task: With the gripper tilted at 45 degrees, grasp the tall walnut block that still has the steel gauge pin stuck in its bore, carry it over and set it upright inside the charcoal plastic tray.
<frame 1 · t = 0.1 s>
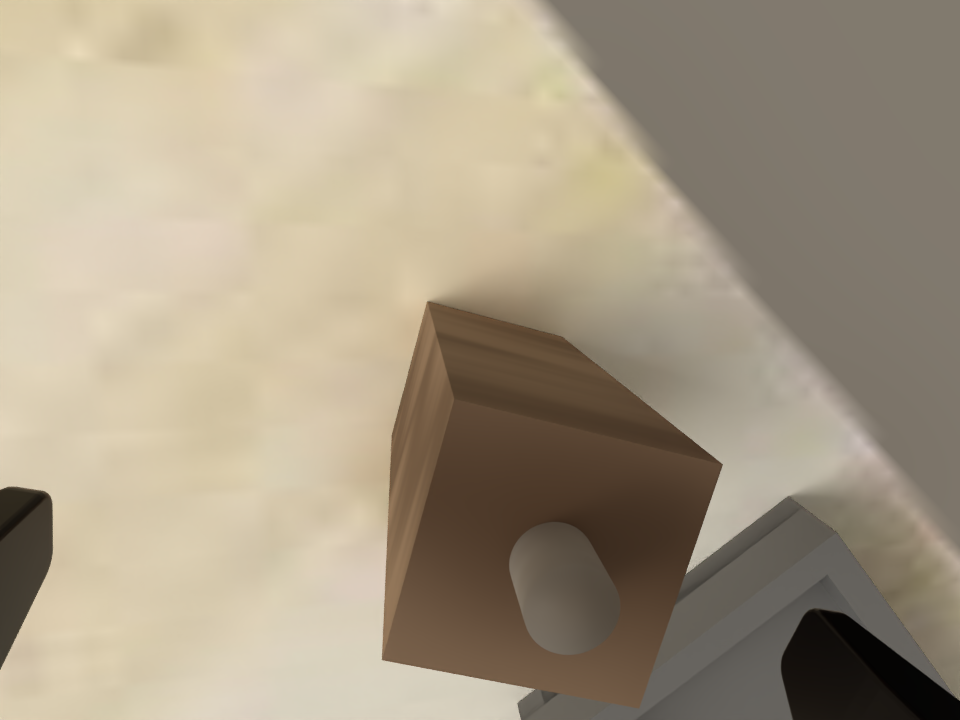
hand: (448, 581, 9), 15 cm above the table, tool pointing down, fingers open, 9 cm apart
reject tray: (743, 713, 28), on the table
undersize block: (476, 386, 24), on the table
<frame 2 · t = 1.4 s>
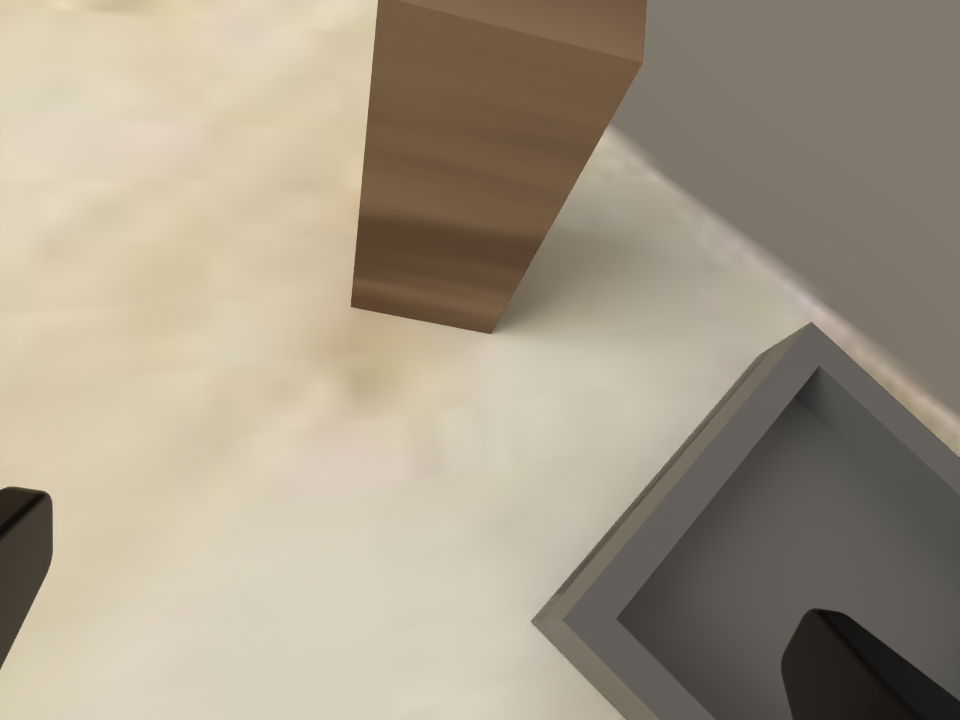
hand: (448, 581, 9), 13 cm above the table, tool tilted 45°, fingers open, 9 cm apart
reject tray: (799, 615, 23), on the table
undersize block: (431, 258, 25), on the table
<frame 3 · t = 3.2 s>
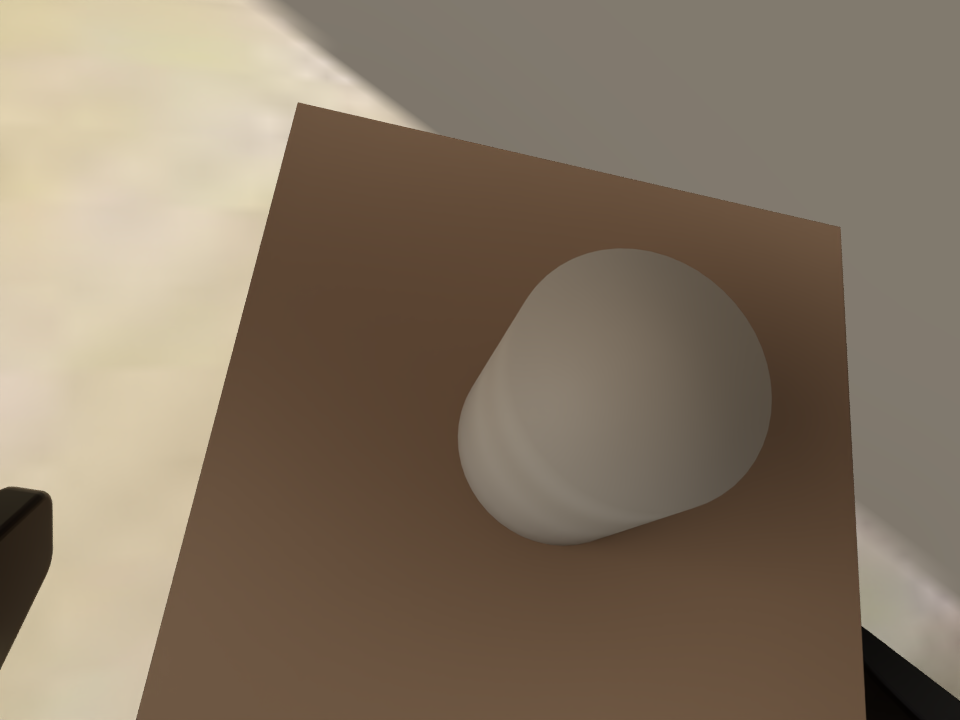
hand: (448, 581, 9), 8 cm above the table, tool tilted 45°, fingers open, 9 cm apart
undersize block: (395, 571, 17), on the table
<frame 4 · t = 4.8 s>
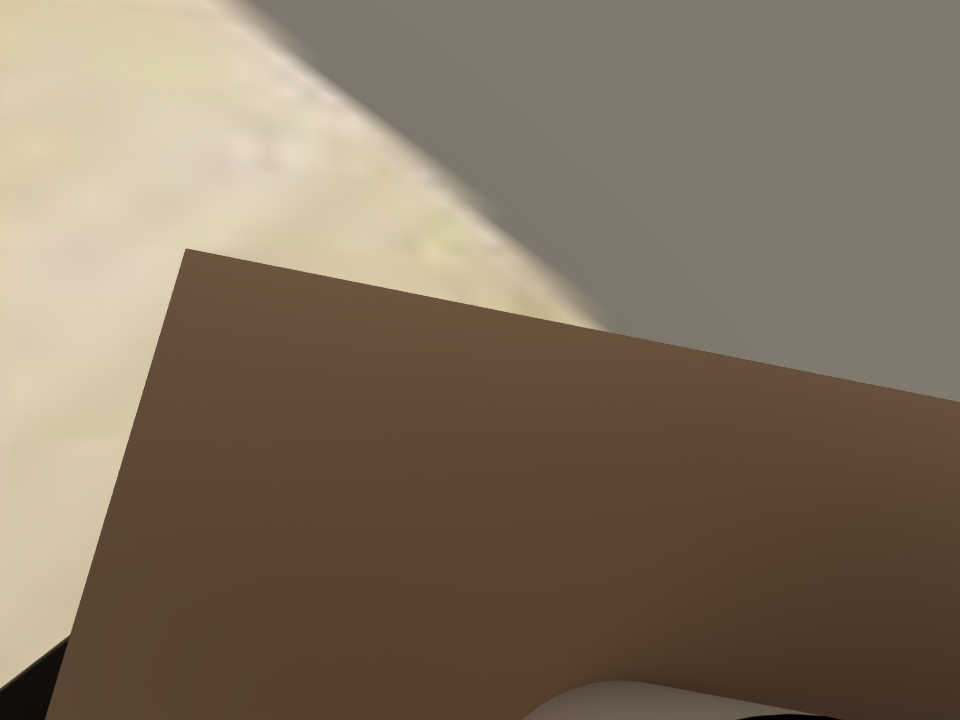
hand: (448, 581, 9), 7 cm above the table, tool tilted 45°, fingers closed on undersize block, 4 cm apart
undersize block: (385, 673, 15), on the table, touching gripper
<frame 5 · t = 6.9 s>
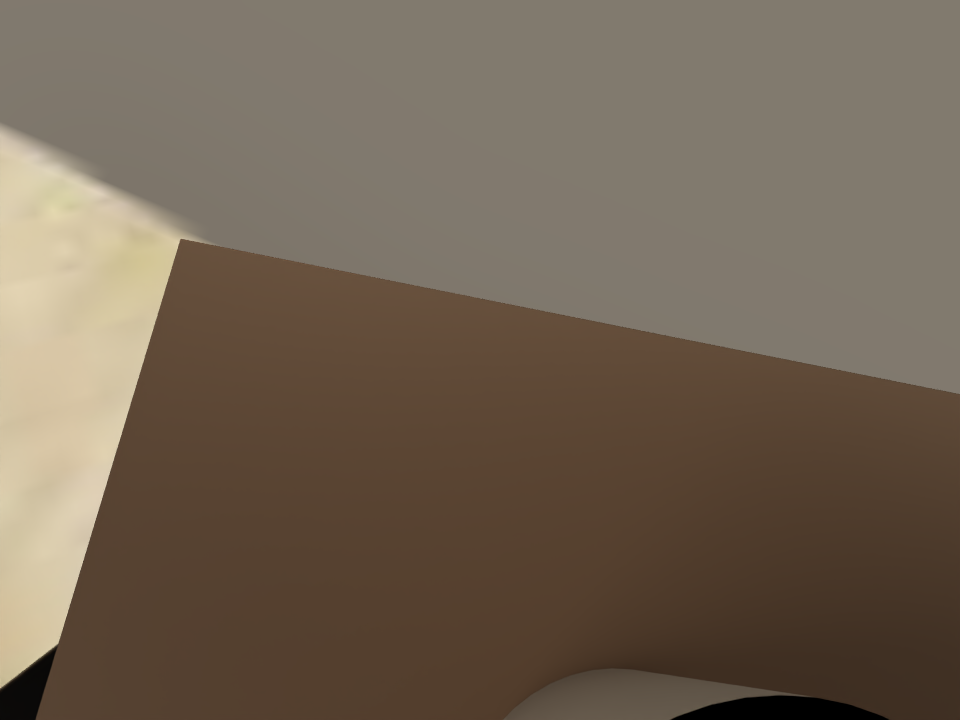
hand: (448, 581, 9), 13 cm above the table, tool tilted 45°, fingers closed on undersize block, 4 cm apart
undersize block: (384, 671, 15), point 7 cm above the table, touching gripper
when the fingers open (9 cm above the table, at t = 9.0 s): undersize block drops 1 cm, resting on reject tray.
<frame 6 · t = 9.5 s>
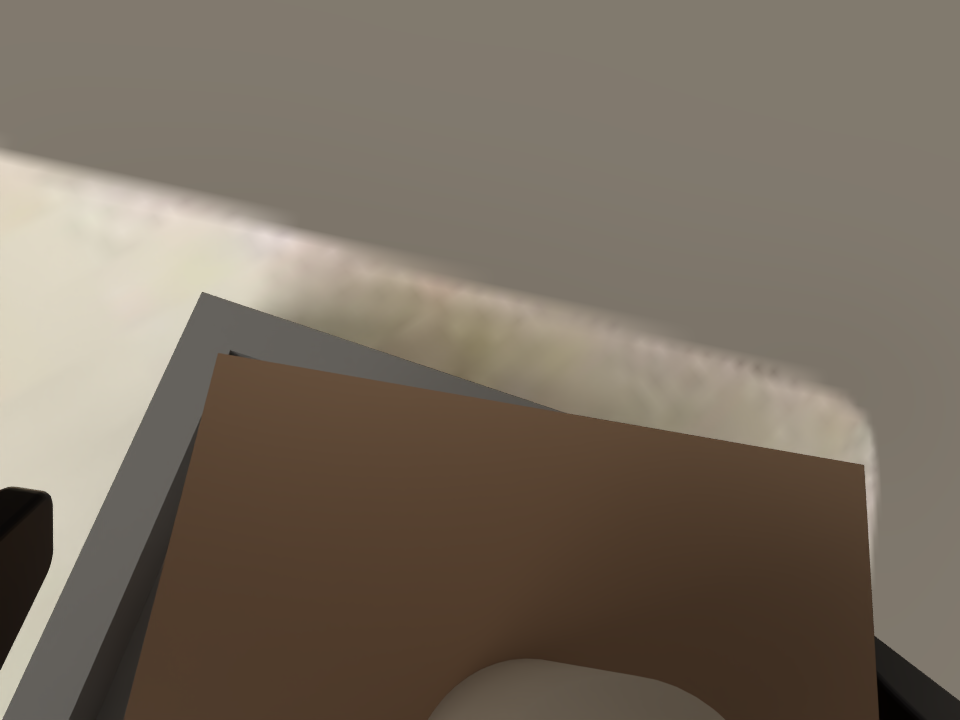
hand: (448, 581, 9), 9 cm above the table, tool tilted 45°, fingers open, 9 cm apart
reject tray: (377, 666, 17), on the table
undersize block: (378, 667, 16), point 1 cm above the table, touching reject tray
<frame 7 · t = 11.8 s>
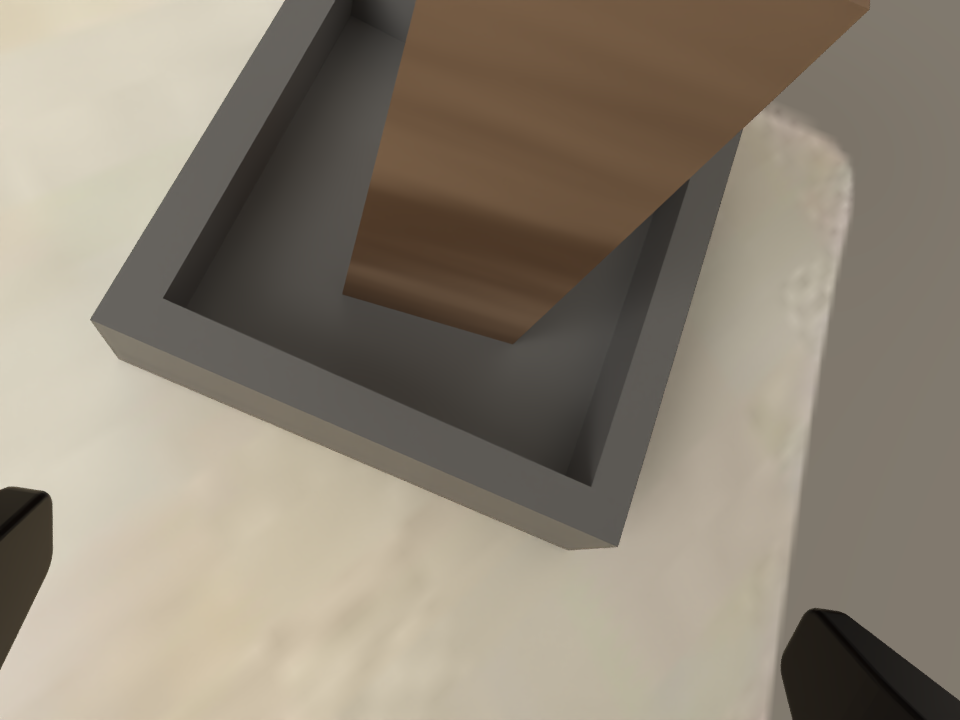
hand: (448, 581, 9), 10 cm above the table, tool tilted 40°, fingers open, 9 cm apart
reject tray: (441, 257, 21), on the table
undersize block: (448, 241, 20), point 1 cm above the table, touching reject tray
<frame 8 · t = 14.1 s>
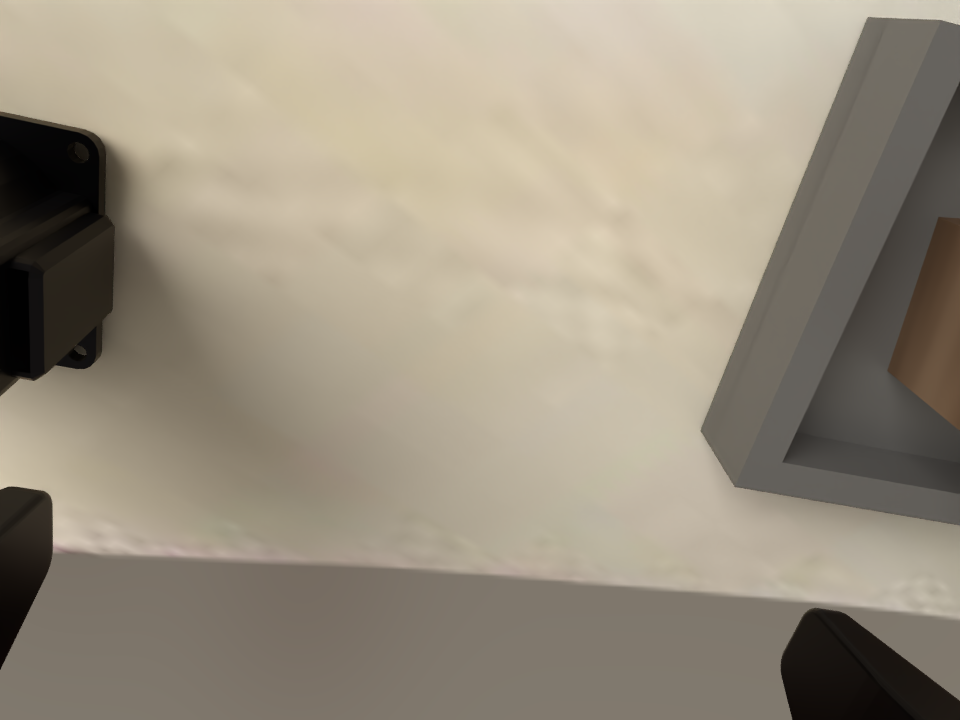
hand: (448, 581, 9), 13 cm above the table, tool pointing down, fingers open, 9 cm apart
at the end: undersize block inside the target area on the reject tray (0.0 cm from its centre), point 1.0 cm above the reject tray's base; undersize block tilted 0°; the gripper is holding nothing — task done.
